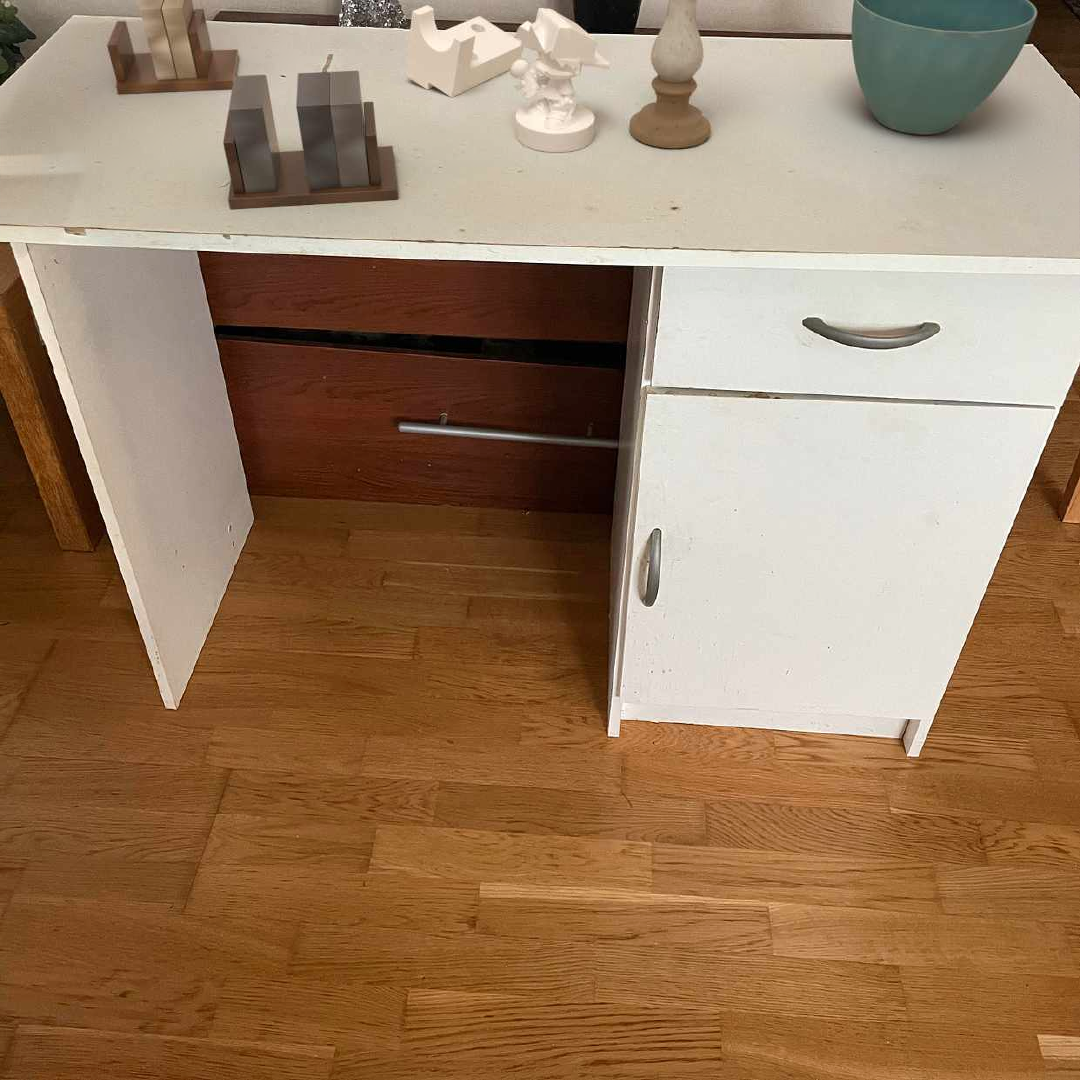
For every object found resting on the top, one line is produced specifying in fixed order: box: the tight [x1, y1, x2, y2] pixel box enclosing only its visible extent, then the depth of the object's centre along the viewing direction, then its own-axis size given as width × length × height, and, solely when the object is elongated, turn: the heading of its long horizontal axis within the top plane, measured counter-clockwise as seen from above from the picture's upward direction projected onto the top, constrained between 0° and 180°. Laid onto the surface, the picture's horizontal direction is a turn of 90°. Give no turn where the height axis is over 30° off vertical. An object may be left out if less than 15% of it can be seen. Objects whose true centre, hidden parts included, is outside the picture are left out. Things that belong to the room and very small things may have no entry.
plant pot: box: [851, 0, 1038, 136], centre depth 109 cm, size 18×18×12 cm
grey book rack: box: [222, 70, 399, 210], centre depth 98 cm, size 16×10×9 cm, turn 99°
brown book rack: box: [106, 0, 240, 95], centre depth 117 cm, size 13×10×9 cm
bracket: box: [404, 4, 524, 98], centre depth 119 cm, size 13×7×8 cm, turn 144°
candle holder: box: [628, 0, 712, 149], centre depth 103 cm, size 9×9×20 cm
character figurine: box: [510, 7, 611, 153], centre depth 105 cm, size 9×10×12 cm
